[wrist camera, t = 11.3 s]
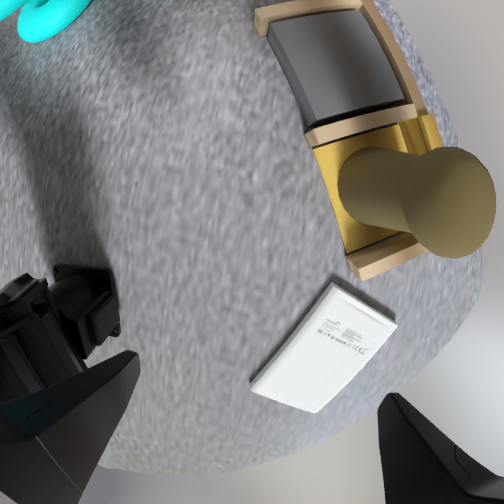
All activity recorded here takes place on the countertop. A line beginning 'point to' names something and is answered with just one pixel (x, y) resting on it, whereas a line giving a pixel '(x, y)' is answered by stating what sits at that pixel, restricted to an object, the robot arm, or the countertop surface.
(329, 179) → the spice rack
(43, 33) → the donuts
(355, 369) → the external hard drive
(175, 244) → the countertop surface
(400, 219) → the olive brown pawn
